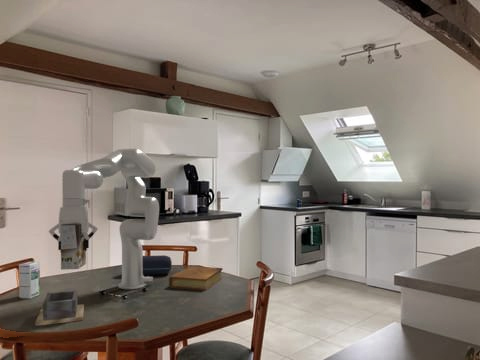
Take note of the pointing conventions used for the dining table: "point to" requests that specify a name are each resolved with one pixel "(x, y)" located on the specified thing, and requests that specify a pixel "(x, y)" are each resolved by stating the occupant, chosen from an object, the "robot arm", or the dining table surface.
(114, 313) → the dining table surface
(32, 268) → the syrup box
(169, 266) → the portable speaker
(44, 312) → the frame
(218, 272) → the diary
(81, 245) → the coffee box
